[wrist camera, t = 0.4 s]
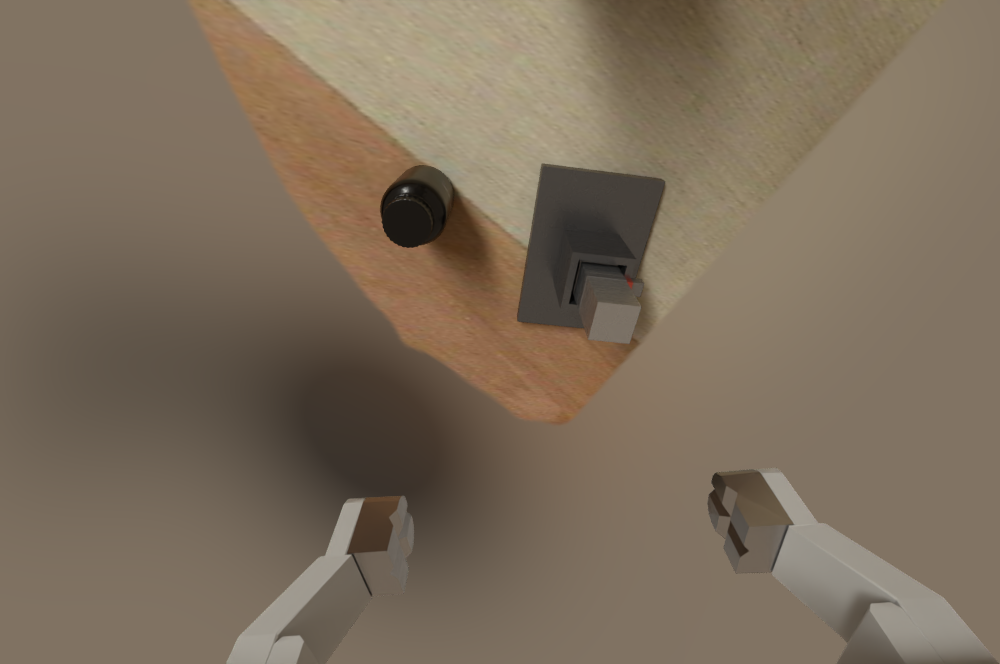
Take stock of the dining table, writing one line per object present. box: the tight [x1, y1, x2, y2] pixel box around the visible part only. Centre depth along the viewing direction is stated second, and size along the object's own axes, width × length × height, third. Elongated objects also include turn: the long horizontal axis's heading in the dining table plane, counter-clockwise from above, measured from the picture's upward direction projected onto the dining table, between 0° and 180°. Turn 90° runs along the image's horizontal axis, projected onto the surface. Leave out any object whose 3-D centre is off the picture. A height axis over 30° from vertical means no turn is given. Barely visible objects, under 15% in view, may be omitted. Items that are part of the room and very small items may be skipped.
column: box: [572, 260, 641, 344], centre depth 47 cm, size 4×4×16 cm
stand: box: [517, 164, 665, 328], centre depth 51 cm, size 20×14×10 cm
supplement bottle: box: [380, 165, 454, 248], centre depth 46 cm, size 7×7×12 cm
